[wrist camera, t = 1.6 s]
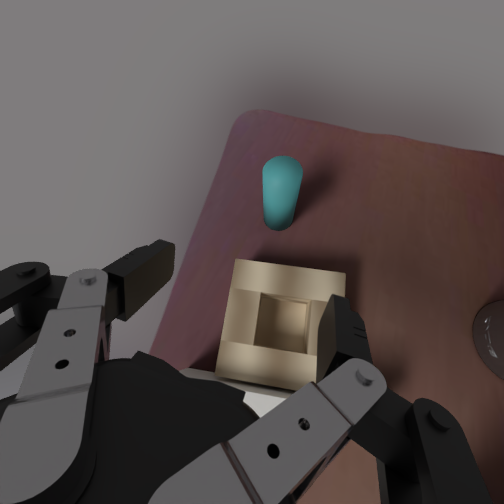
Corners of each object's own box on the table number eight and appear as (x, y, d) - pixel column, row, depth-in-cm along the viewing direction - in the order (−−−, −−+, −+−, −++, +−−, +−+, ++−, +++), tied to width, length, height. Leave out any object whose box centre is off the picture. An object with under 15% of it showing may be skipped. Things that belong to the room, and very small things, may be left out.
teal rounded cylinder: (294, 206, 35) (304, 157, 26) (291, 232, 34) (300, 191, 25) (265, 202, 36) (265, 154, 26) (261, 228, 35) (260, 187, 25)
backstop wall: (366, 399, 27) (398, 419, 21) (366, 421, 27) (399, 448, 20) (187, 367, 29) (164, 376, 23) (183, 386, 29) (159, 401, 22)
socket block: (334, 282, 32) (345, 273, 27) (328, 388, 28) (340, 398, 24) (240, 269, 33) (235, 258, 28) (222, 369, 29) (214, 375, 25)
